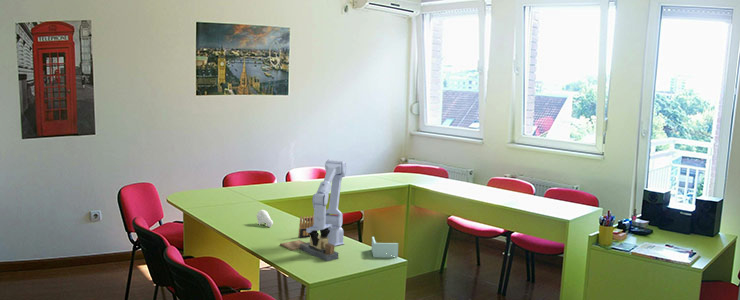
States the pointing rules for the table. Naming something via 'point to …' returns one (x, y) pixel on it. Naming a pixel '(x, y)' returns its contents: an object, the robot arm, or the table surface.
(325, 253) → the body
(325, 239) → the tan rectangular block
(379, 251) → the right angle wall
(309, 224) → the ammunition clip
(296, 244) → the walnut board
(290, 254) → the table surface
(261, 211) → the white toy sheep
